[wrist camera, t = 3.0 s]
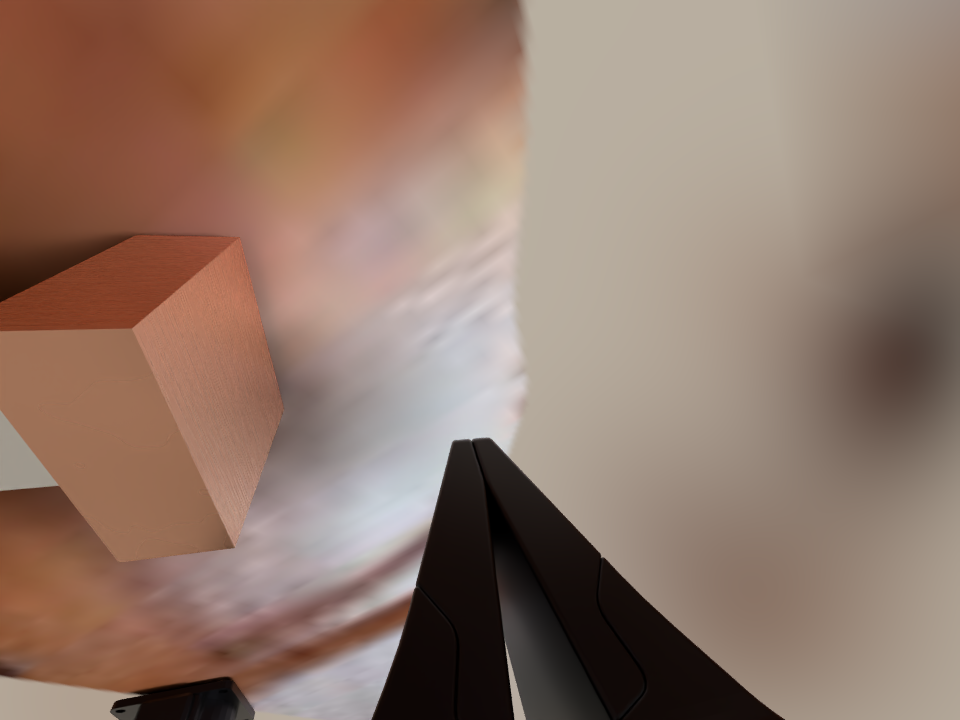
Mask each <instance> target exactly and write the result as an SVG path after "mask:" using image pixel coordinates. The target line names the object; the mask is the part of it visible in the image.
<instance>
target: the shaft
mask: <svg viewBox="0 0 960 720" xmlns="http://www.w3.org/2000/svg"><path fill="white" fill-rule="evenodd" d="M283 411H284V407H283V403H282V399H281V395H280V391H279V387H278V383H277V380H276V376H275V372H274V368H273V364H272V360H271V356H270V353H269V349H268V345H267V341H266V337H265V333H264V329H263V326H262V322H261V318H260V314H259V310H258V306H257V302H256V299H255V295H254V291H253V287H252V283H251V279H250V275H249V272H248V268H247V264H246V260H245V256H244V252H243V248H242V245H241V241H240V237H204V236H158V235H135V236H133V237H131V238H129V239H127V240H125V241H123V242H121V243H119V244H117V245H115V246H113V247H111V248H109V249H107V250H105V251H103V252H101V253H99V254H97V255H95V256H93V257H91V258H89V259H87V260H85V261H83V262H81V263H79V264H77V265H75V266H73V267H71V268H69V269H67V270H65V271H63V272H61V273H59V274H57V275H55V276H53V277H51V278H49V279H47V280H45V281H43V282H41V283H39V284H37V285H35V286H33V287H31V288H29V289H27V290H24V291H22V292H20V293H18V294H16V295H14V296H12V297H10V298H8V299H6V300H4V301H2V302H0V491H3V490H15V489H26V488H37V487H49V486H60V488H61V489H62V490H63V491H64V493H65V494H66V495H67V497H68V498H69V499H70V500H71V502H72V503H73V504H74V506H75V507H76V508H77V509H78V511H79V512H80V513H81V515H82V516H83V517H84V518H85V520H86V521H87V522H88V524H89V525H90V526H91V527H92V529H93V530H94V531H95V533H96V534H97V535H98V536H99V538H100V539H101V540H102V542H103V543H104V544H105V545H106V547H107V548H108V549H109V551H110V552H111V553H112V554H113V556H114V557H115V558H116V560H117V561H118V562H127V561H135V560H143V559H151V558H159V557H167V556H175V555H183V554H191V553H199V552H207V551H215V550H223V549H230V548H235V546H236V543H237V540H238V537H239V534H240V532H241V529H242V526H243V523H244V520H245V518H246V515H247V512H248V509H249V506H250V504H251V501H252V498H253V495H254V492H255V490H256V487H257V484H258V481H259V478H260V476H261V473H262V470H263V467H264V464H265V462H266V459H267V456H268V453H269V450H270V448H271V445H272V442H273V439H274V436H275V434H276V431H277V428H278V425H279V422H280V420H281V417H282V414H283Z"/></svg>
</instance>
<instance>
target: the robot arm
mask: <svg viewBox="0 0 960 720" xmlns="http://www.w3.org/2000/svg"><path fill="white" fill-rule="evenodd" d="M504 638H505V639H504ZM505 642H506V645H507V649H508V653H509V657H510V660H511V664H512V668H513V672H514V676H515V679H516V683H517V687H518V691H519V695H520V698H521V702H522V706H523V710H524V714H525V717H526V720H785V719H783V718H782V717H780V716H779V715H778V714H776V713H775V712H773V711H772V710H771V709H769V708H768V707H767V706H766V705H764V704H763V703H762V702H760V701H759V700H758V699H757V698H755V697H754V696H753V695H752V694H751V693H749V692H748V691H747V690H746V689H745V688H744V687H743V686H741V685H740V684H739V683H738V682H737V681H736V680H735V679H734V678H732V677H731V676H730V675H729V674H728V673H727V672H726V671H725V670H723V669H722V668H721V667H720V666H719V665H718V664H717V663H715V662H714V661H713V660H712V659H711V658H710V657H709V656H707V655H706V654H705V653H704V652H703V651H702V650H701V649H700V648H699V647H697V646H696V645H695V644H694V643H693V642H692V641H691V640H690V639H688V638H687V637H686V636H685V635H684V634H683V633H682V632H681V631H679V630H678V629H677V628H676V627H674V625H673V624H672V623H670V622H669V621H668V620H667V619H666V618H665V617H664V616H663V615H662V614H661V613H660V612H658V611H657V610H656V609H655V608H654V607H653V606H652V605H651V604H650V603H649V602H647V600H645V599H644V598H643V597H642V596H641V595H640V594H639V593H638V592H637V591H636V590H635V589H634V588H633V587H632V586H631V585H630V584H629V583H628V582H627V581H626V580H625V579H624V578H623V577H622V576H621V575H620V574H619V573H618V571H616V570H615V568H614V567H613V566H612V565H611V564H610V563H609V562H608V561H607V560H606V559H605V558H601V554H600V553H599V552H598V551H597V550H596V549H595V548H594V546H593V545H591V543H590V542H589V541H588V540H587V539H586V538H585V537H584V536H583V535H582V534H581V533H580V532H579V531H578V530H577V529H576V527H575V526H574V525H573V524H572V523H571V522H570V521H569V520H568V519H567V518H566V517H565V516H564V515H563V514H562V513H561V512H560V511H559V510H558V509H557V508H556V507H555V506H554V504H553V503H552V502H551V501H550V500H549V499H548V498H547V497H546V496H545V495H544V494H543V493H542V492H541V491H540V490H539V489H538V488H537V486H535V484H534V483H533V482H532V481H531V480H530V479H529V478H528V477H527V476H526V475H525V474H524V473H523V472H522V471H521V470H520V469H519V468H518V467H517V466H516V464H515V463H514V462H513V461H512V460H511V459H510V458H509V457H508V456H507V455H506V454H505V453H504V452H503V451H502V450H501V449H500V448H499V447H498V445H497V444H496V443H495V442H494V441H493V440H492V439H490V438H476V439H473V440H472V441H471V440H469V439H464V440H454V441H453V442H452V445H451V449H450V453H449V457H448V461H447V465H446V468H445V472H444V476H443V480H442V484H441V488H440V492H439V496H438V500H437V504H436V507H435V511H434V515H433V519H432V523H431V527H430V531H429V535H428V539H427V542H426V546H425V550H424V554H423V558H422V562H421V566H420V570H419V574H418V578H417V581H416V588H415V589H414V592H413V596H412V600H411V604H410V608H409V612H408V615H407V619H406V622H405V625H404V629H403V632H402V636H401V639H400V643H399V646H398V649H397V652H396V654H395V657H394V660H393V663H392V666H391V669H390V671H389V674H388V677H387V680H386V683H385V686H384V688H383V691H382V693H381V696H380V699H379V701H378V704H377V707H376V709H375V712H374V714H373V717H372V720H514V713H513V705H512V697H511V688H510V680H509V672H508V664H507V656H506V648H505ZM110 712H111V714H113V715H114V716H115V717H116V718H118V719H119V720H253V719H254V715H255V711H254V710H253V708H252V707H251V705H250V704H249V703H248V701H247V700H246V698H245V697H244V695H243V694H242V693H241V691H240V690H239V688H238V687H237V685H236V684H235V682H233V681H231V680H223V681H218V682H213V683H207V684H202V685H197V686H191V687H186V688H181V689H175V690H170V691H165V692H159V693H154V694H149V695H143V696H138V697H133V698H127V699H122V700H118V701H116V702H115V703H114V705H113V707H112V709H111V711H110Z"/></svg>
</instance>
